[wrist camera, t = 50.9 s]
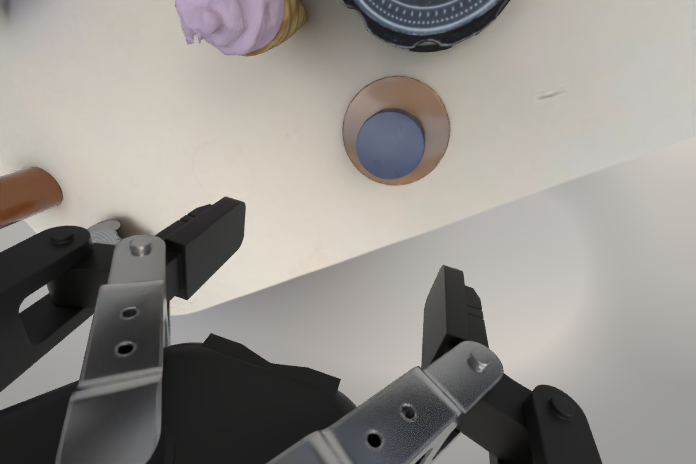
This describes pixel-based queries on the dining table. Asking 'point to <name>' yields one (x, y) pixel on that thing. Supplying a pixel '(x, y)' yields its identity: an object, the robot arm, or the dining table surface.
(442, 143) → the coaster
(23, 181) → the jar
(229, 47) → the ice cream cone
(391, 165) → the lid
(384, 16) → the container
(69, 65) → the dining table surface
